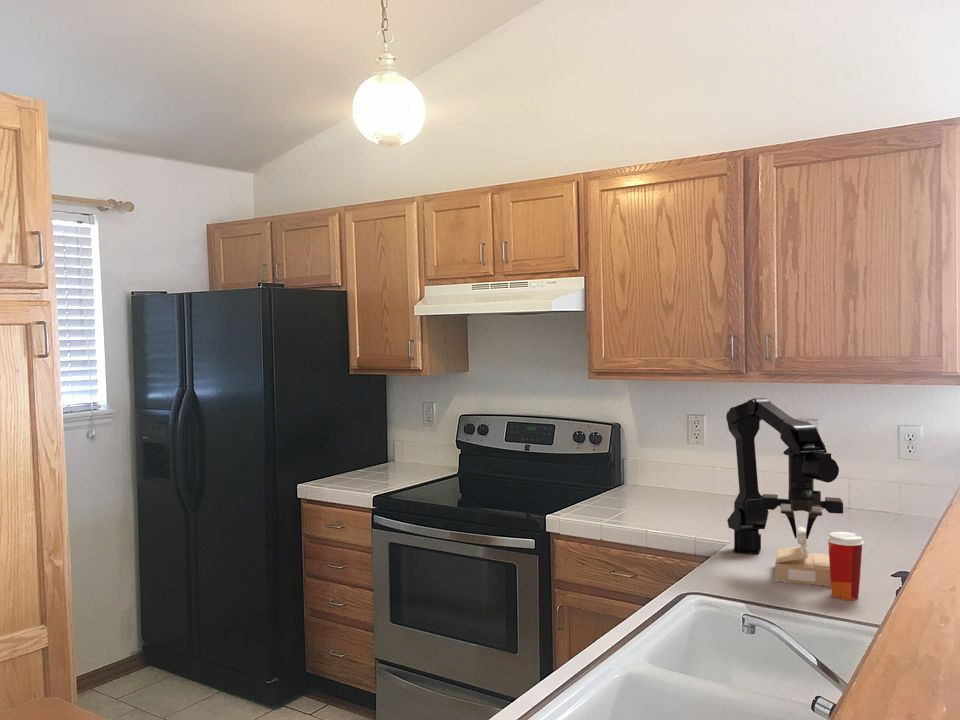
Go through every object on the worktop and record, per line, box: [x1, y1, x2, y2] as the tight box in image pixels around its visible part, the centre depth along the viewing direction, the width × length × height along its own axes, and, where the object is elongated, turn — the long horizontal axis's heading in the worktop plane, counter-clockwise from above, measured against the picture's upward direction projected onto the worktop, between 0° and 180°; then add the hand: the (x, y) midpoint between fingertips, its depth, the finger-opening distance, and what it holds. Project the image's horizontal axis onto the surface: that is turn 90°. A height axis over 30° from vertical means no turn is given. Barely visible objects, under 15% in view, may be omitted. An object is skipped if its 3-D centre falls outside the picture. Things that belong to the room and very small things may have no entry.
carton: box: [774, 550, 831, 587], centre depth 200 cm, size 16×13×4 cm
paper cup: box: [826, 531, 865, 601], centre depth 186 cm, size 8×8×14 cm
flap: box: [777, 526, 808, 563], centre depth 202 cm, size 8×11×5 cm
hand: (801, 538), depth 201 cm, fingers open, 2 cm apart
